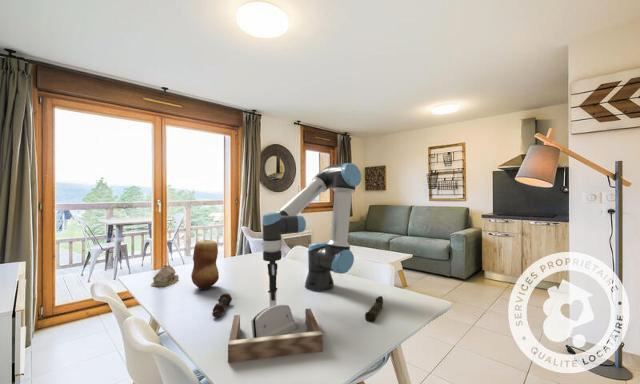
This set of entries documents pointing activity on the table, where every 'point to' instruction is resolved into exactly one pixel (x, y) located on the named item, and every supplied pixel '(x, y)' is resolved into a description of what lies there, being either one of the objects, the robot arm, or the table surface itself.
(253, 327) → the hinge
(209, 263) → the butternut squash
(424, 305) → the table surface
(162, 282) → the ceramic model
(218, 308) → the bolt
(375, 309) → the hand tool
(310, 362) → the table surface
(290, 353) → the frame
